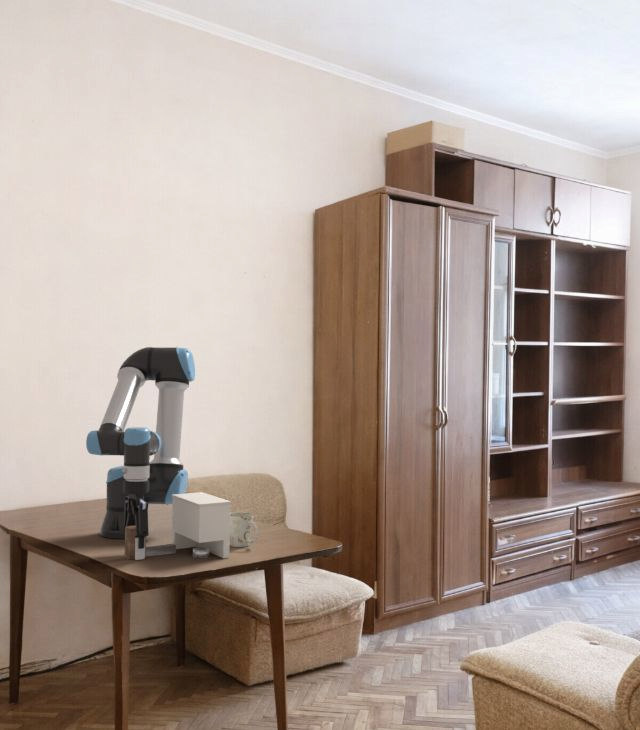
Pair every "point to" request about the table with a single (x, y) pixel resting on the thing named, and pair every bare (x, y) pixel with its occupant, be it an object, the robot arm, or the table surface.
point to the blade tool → (149, 551)
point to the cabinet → (201, 522)
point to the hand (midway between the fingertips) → (135, 556)
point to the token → (201, 552)
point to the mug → (242, 529)
